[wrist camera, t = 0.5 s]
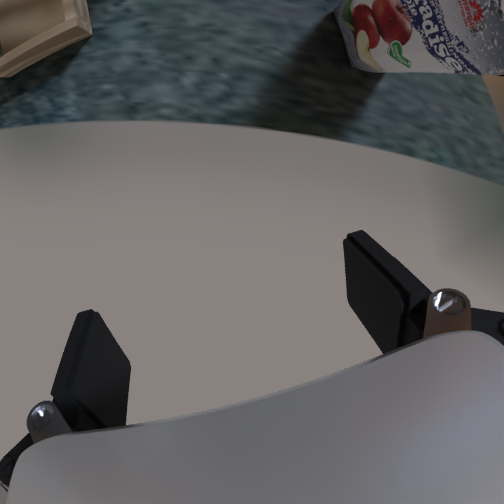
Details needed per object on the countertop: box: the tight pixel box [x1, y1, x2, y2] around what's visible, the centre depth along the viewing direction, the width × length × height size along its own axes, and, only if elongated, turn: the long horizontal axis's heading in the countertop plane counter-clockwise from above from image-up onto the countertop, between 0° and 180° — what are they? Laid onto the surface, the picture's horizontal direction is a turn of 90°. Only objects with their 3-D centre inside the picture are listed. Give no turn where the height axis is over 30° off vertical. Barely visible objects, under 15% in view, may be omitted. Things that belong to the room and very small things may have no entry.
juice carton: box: [333, 0, 504, 76], centre depth 21 cm, size 9×10×27 cm
